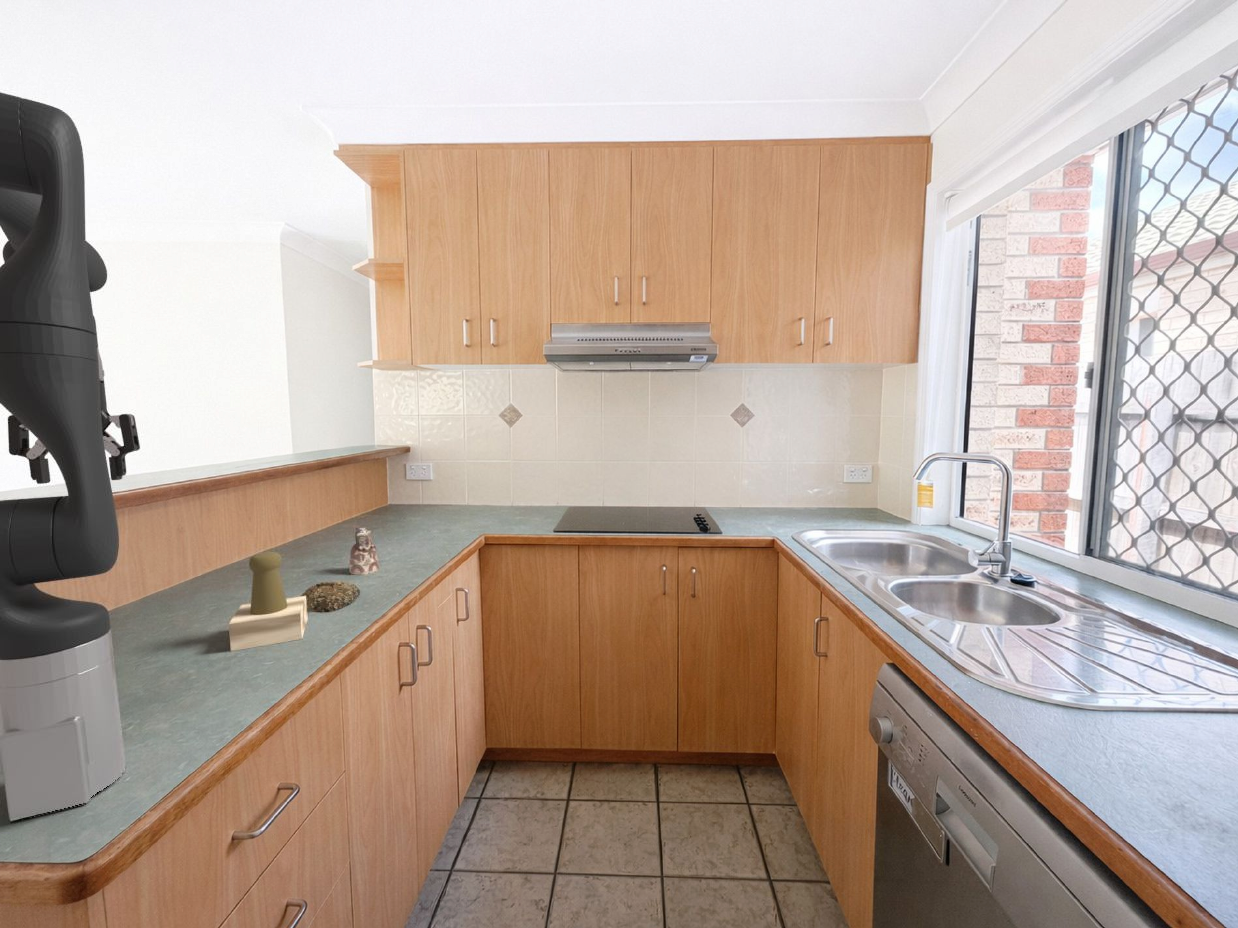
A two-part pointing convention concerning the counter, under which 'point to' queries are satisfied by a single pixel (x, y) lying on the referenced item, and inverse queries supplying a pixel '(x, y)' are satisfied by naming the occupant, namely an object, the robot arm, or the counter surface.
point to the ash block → (268, 625)
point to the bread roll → (330, 596)
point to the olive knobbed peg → (266, 584)
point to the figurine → (363, 553)
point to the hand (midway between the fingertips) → (81, 481)
